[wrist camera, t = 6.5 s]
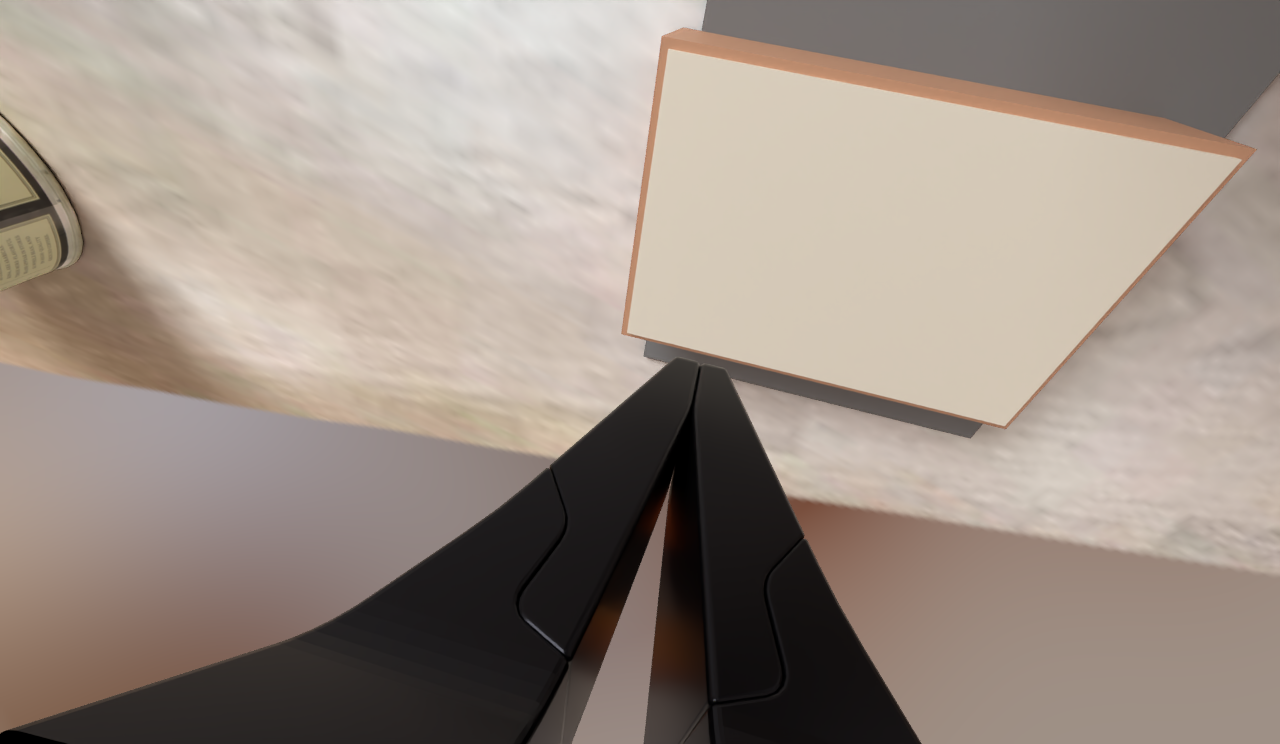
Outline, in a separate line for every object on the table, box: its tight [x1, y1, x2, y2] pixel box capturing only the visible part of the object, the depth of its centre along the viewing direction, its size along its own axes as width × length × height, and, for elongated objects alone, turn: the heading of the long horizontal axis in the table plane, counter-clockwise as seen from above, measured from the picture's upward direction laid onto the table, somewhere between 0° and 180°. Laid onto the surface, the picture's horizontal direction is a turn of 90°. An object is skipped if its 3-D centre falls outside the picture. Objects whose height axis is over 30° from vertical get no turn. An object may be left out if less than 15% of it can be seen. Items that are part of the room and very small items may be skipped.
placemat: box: [644, 0, 1280, 438], centre depth 15 cm, size 13×14×1 cm
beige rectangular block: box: [621, 28, 1257, 429], centre depth 14 cm, size 3×8×12 cm
